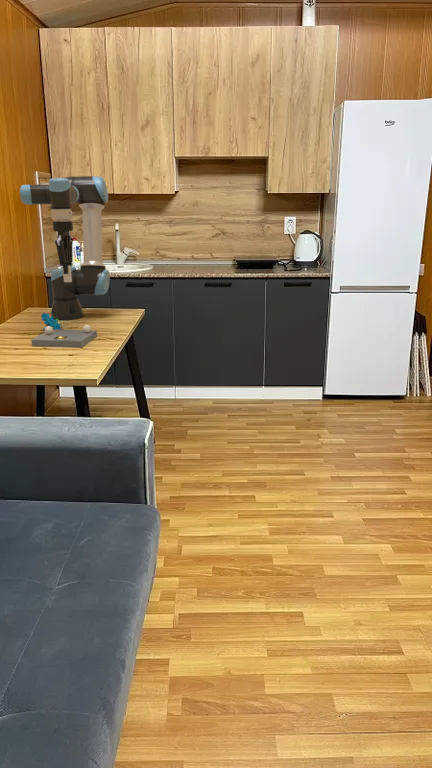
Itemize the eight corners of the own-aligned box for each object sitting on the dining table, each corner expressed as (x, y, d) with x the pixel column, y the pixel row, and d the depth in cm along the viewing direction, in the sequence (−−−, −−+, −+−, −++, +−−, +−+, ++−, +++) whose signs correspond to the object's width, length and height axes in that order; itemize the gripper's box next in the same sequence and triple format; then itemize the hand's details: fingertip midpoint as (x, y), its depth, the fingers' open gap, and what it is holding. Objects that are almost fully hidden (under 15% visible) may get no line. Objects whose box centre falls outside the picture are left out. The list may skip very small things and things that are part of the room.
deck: (50, 335, 234) (50, 329, 233) (96, 336, 232) (96, 330, 231) (32, 346, 217) (31, 339, 216) (81, 347, 215) (81, 341, 214)
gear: (54, 329, 236) (38, 312, 236) (45, 339, 238) (30, 321, 238) (67, 327, 247) (52, 311, 247) (58, 336, 249) (43, 320, 249)
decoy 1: (47, 332, 227) (46, 325, 226) (54, 333, 227) (53, 325, 226) (43, 334, 224) (42, 326, 223) (51, 335, 224) (50, 327, 223)
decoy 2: (84, 331, 229) (84, 323, 228) (92, 331, 229) (91, 324, 228) (82, 333, 226) (81, 325, 225) (89, 333, 226) (89, 325, 225)
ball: (57, 345, 220) (59, 339, 222) (64, 345, 220) (67, 340, 222) (54, 339, 218) (57, 334, 220) (62, 339, 217) (64, 334, 219)
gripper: (65, 221, 211) (70, 284, 218) (77, 219, 223) (82, 279, 231) (46, 221, 212) (52, 284, 219) (59, 220, 224) (65, 279, 231)
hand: (67, 281), depth 225 cm, fingers closed
